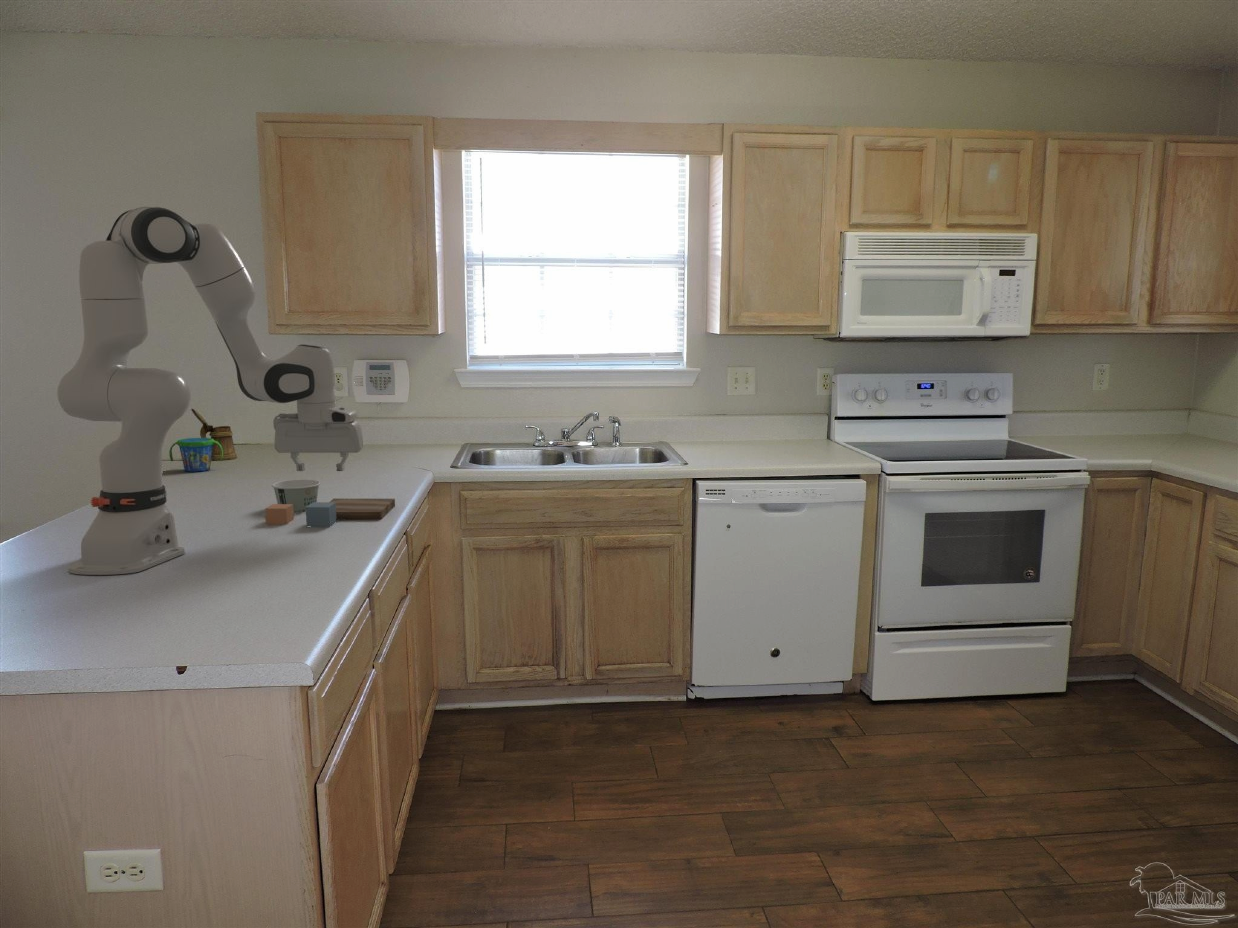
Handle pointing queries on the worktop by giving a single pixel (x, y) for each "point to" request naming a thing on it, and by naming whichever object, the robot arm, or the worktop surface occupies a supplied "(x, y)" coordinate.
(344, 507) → the walnut board
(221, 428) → the wooden mug
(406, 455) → the worktop surface
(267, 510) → the terracotta block
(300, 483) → the food container
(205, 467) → the snack cup
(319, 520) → the slate block
